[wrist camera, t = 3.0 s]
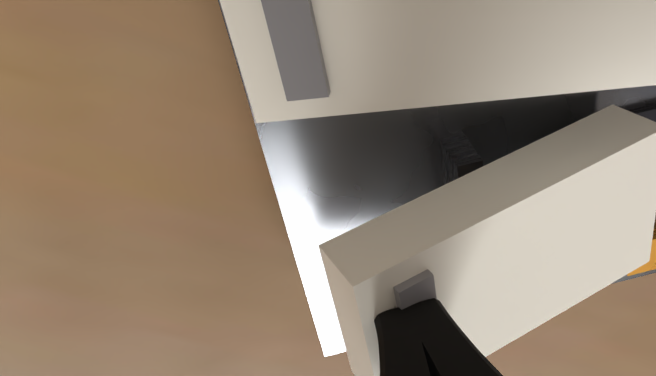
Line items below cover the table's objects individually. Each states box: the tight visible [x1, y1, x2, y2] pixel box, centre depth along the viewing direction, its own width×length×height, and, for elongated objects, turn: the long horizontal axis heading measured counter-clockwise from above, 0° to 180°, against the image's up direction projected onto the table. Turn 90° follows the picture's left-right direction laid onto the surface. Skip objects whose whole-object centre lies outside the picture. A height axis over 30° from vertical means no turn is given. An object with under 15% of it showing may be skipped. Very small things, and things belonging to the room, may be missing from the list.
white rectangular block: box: [318, 104, 656, 376], centre depth 14 cm, size 8×4×2 cm, turn 100°
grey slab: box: [218, 0, 656, 357], centre depth 15 cm, size 12×26×5 cm, turn 11°
